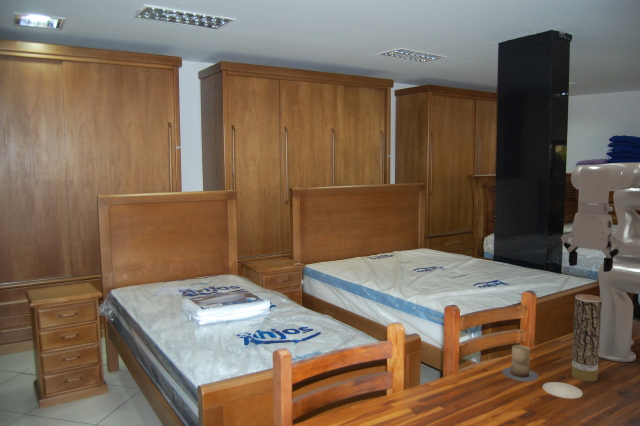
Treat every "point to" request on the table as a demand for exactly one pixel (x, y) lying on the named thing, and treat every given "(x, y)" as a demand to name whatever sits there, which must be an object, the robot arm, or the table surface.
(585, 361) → the brown bark cylinder
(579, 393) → the cream pad
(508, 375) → the board
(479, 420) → the table surface
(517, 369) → the beige rounded cylinder
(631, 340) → the robot arm
